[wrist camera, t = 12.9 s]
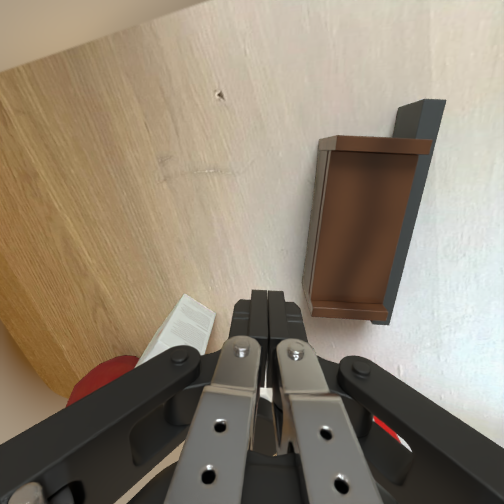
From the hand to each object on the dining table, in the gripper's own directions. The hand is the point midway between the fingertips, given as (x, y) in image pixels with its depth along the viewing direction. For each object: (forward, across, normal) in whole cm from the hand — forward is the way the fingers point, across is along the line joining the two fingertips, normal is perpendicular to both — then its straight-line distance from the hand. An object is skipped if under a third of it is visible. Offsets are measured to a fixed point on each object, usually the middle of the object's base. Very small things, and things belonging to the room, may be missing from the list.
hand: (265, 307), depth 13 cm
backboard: (+22, -15, 0) cm, 26 cm away
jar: (+22, +1, +23) cm, 32 cm away
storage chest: (+22, -10, 0) cm, 24 cm away
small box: (+22, +10, +17) cm, 30 cm away
